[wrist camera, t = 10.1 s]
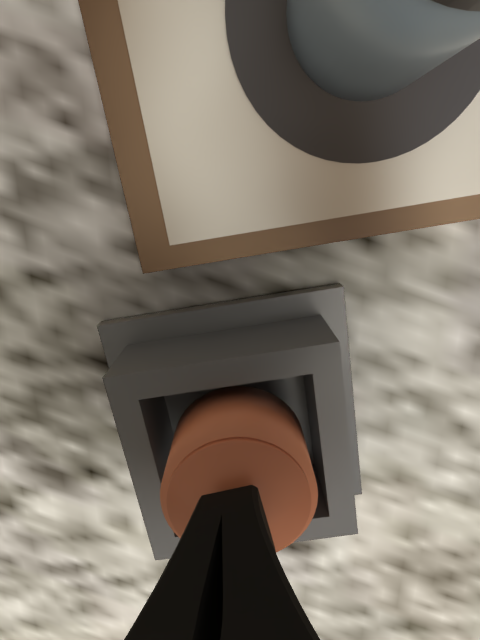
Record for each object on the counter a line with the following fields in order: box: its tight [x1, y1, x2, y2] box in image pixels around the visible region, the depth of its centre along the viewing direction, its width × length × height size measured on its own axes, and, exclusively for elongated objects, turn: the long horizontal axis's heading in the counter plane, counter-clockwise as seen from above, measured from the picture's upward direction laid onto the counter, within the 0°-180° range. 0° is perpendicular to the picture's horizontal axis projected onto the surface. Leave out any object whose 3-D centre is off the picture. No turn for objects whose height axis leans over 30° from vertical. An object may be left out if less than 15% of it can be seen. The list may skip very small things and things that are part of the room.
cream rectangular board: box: [78, 0, 480, 274], centre depth 10 cm, size 14×11×1 cm
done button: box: [160, 386, 318, 552], centre depth 11 cm, size 4×4×2 cm
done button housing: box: [97, 283, 362, 560], centre depth 13 cm, size 8×8×3 cm
